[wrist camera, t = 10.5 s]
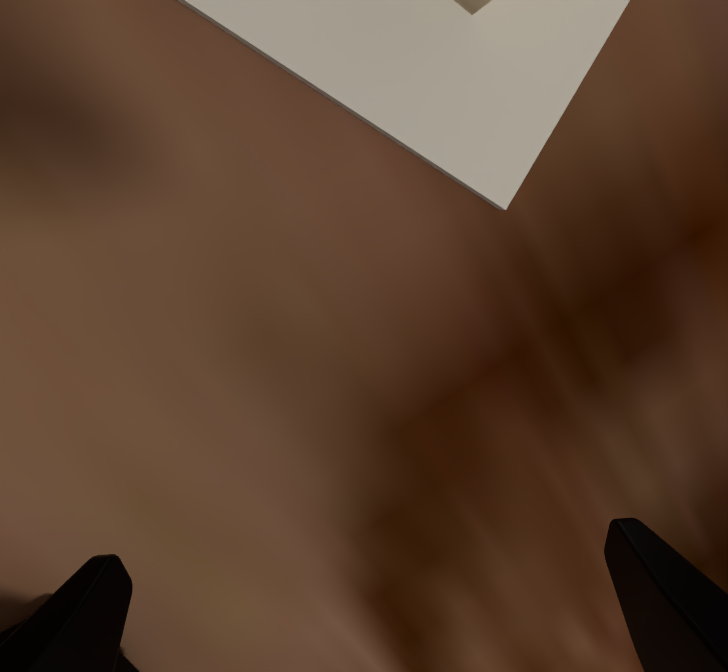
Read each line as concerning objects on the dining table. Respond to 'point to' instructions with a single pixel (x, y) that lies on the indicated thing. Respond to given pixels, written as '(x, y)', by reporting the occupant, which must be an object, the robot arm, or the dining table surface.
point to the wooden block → (472, 5)
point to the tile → (436, 71)
